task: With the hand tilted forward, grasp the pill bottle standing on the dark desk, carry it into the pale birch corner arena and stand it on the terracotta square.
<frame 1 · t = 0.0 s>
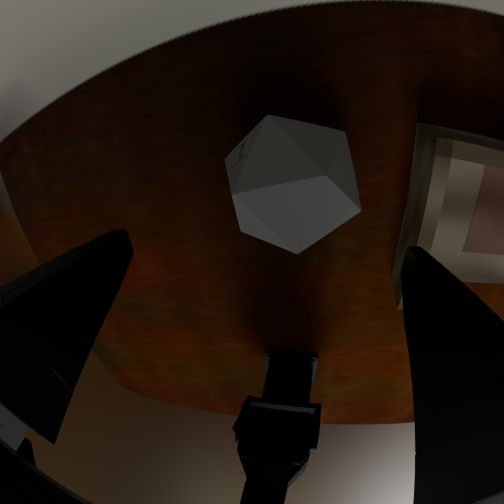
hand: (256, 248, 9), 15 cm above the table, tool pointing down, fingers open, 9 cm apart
arena: (484, 216, 20), on the table
grey polyhedron: (295, 162, 22), on the table
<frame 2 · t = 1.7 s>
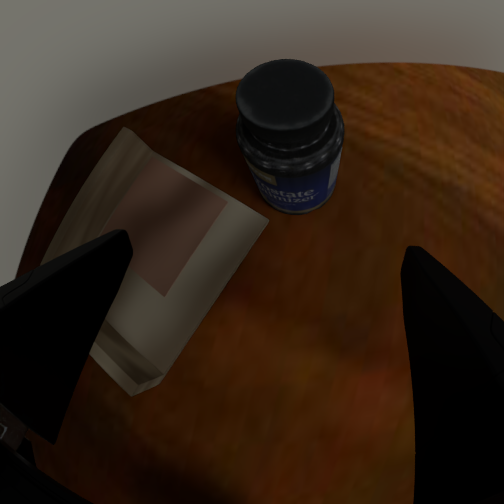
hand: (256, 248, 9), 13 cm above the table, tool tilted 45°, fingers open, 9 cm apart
pill bottle: (297, 180, 23), on the table
arena: (147, 258, 25), on the table
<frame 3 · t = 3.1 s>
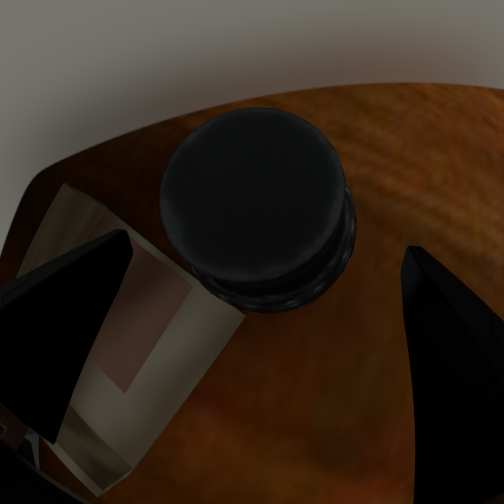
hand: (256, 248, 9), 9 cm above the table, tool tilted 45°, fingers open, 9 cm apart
pill bottle: (285, 258, 18), on the table
arena: (104, 344, 19), on the table
grey polyhedron: (30, 440, 19), on the table
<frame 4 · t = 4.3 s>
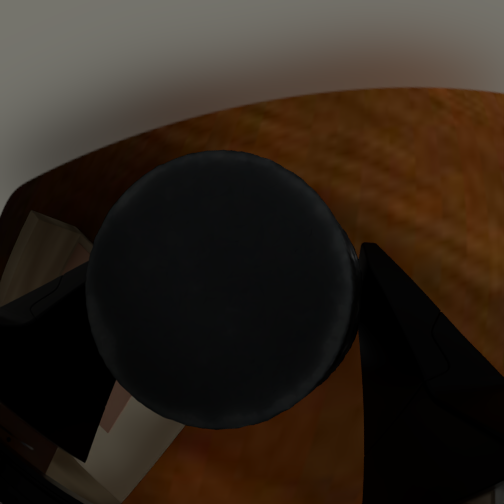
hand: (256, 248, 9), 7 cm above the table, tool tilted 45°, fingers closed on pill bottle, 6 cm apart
pill bottle: (276, 299, 15), on the table, touching gripper
arena: (84, 381, 17), on the table
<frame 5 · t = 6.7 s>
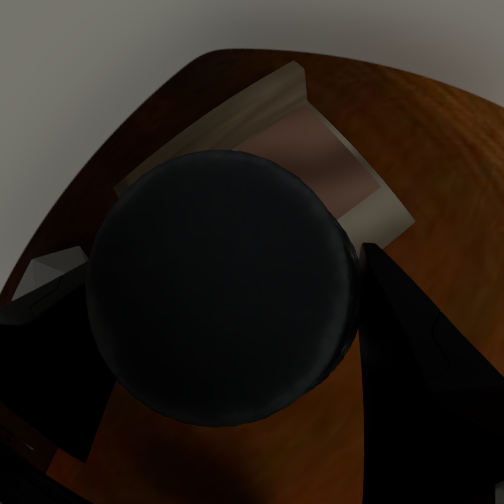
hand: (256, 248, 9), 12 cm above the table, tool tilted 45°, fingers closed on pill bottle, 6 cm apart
pill bottle: (278, 298, 15), point 5 cm above the table, touching gripper
arena: (270, 210, 22), on the table
grey polyhedron: (92, 304, 24), on the table
when the fingers open (8 cm above the table, at t = 8.9 s): pill bottle stays where it is, resting on arena.
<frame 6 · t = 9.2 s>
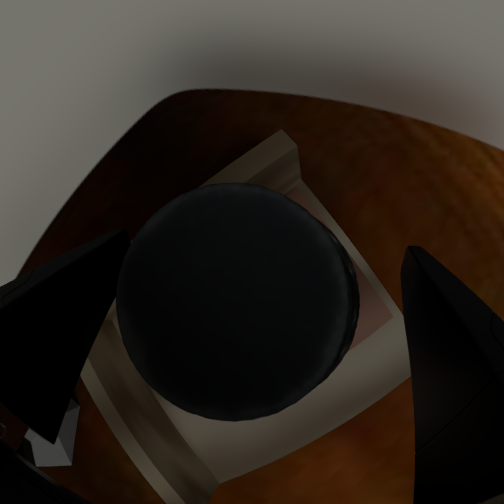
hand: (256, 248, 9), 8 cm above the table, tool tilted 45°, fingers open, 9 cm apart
pill bottle: (280, 303, 16), resting on arena
arena: (245, 344, 17), on the table
grey polyhedron: (60, 407, 18), on the table
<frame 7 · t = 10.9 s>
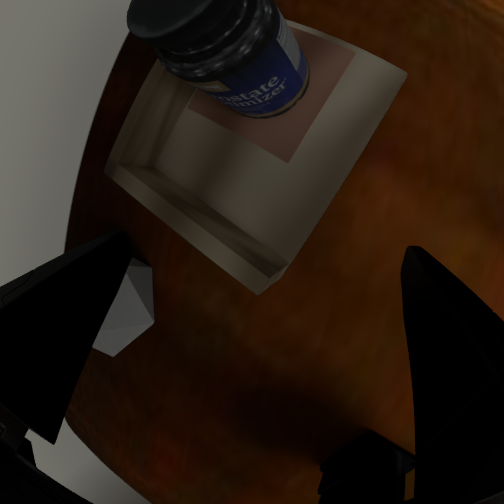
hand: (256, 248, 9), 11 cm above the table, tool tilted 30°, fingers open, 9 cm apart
pill bottle: (268, 80, 18), resting on arena
arena: (258, 120, 19), on the table
grey polyhedron: (137, 286, 26), on the table
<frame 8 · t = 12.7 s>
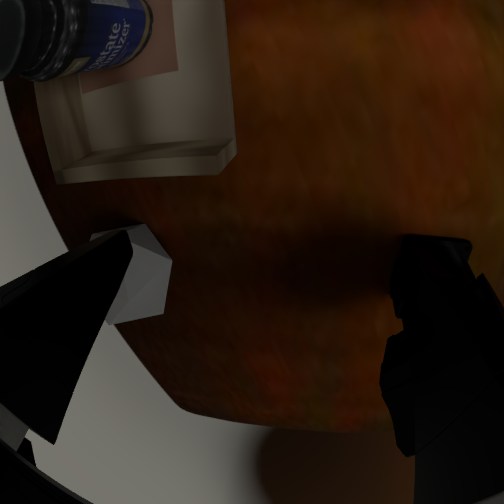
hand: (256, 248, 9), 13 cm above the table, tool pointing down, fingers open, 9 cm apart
pill bottle: (122, 28, 16), resting on arena
arena: (136, 60, 18), on the table
grey polyhedron: (146, 247, 28), on the table
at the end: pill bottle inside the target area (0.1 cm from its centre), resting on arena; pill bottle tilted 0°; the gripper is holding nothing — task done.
